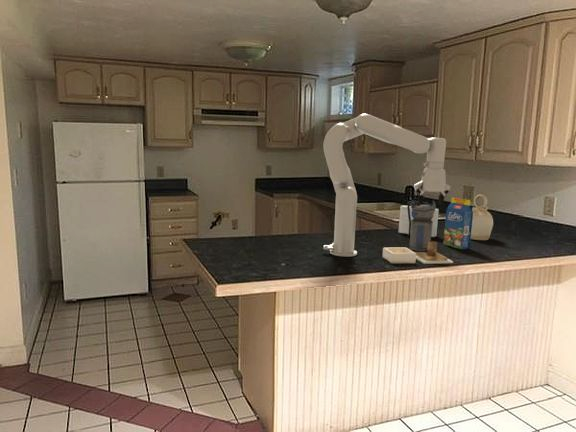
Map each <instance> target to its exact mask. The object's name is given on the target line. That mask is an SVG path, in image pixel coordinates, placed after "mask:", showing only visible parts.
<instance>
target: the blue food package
mask: <svg viewBox="0 0 576 432" xmlns="http://www.w3.org/2000/svg"><path fill="white" fill-rule="evenodd" d="M472 220H473V211H472V207H471V199H464V198H459V197H451V202H450V204H448V207H447V209H446V211H445V223H444V232H443V233H444V234H443V242H442V244H443V245H445V246H447V247H452V248H454V249H457V250H468V249H470V248H471V247H470V246H471V240H472V239H471V230H472Z"/></svg>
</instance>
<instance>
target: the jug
mask: <svg viewBox="0 0 576 432" xmlns="http://www.w3.org/2000/svg"><path fill="white" fill-rule="evenodd" d="M479 198H482V199H483V204H482V205H479V203H478V200H479ZM473 205H474V207H471V209H472V211H473V220H472V230H471V240H475V241H476V240H477V241H488V240H489V239H490V237H491V233H492V231H493V228H494V218H493V215H492V214H491V213H490V212H489V211H488V210H489V207H488V206H487V205H488V198H487V196H486V195H484V194H477V195H476V196H475V197H474V199H473Z"/></svg>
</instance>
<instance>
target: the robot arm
mask: <svg viewBox="0 0 576 432" xmlns="http://www.w3.org/2000/svg"><path fill="white" fill-rule="evenodd" d="M363 135H367V136H369V137H372V138H374V139H377V140H379V141H382V142H383V143H384V142H385V143H387V144H390V145H395V146H398V147H402V148H403V149H407V150H409V151H412V152H413V153H415V154H419V155H421V154H426V160H425V162H423V165H422V166H424V167H425V168H424V169H423V172H422V175H421V178H420V179H421V180H420V181H418V182H417V183H415V184H414V185H413V187H414V191H415V192H416V194H417V202H418V203H419V204H420V205H424V193H425V192H430V193H431V192H433V193H438V194H439V195H438V199H437V200H438V201H437V204H438V205H441V206H443V205H444V202H445V196H447V194H448V193H449V192H450V190H451V187H452V186H451V185H449V184H447V183H446V182H447V181H446V179H447V177H446V175H447V174H446V170H445V169H444V165H445V157H446V147H447V139H445V138H444V137H426V136H424V135H422V134H419V133H417V132H414V131H412V130H409V129H406V128H403V127H401V126H399V125H397V124H394V123H393V122H389V121H388V120H384V119H383V118H382V119H381V118H379V117H376V116H374V115H372V114H368V113H362V114H361V113H360V114H359V115H358V116H357V117H354V118H352V119H350V120H347V121H344V122H339V123H335V124H334V125H333V126H332V127H330V128H329V130H328V131H327V132H326V134H325V136H324V140H323V153H324V157H325V159H326V160H325V161H326V163H327V164H326V165H327V169H328V173H329V177H330V180H331V182H332V184H333V188H334V192H335V194H336V195H335V207H334V208H335V209H334V210H335V212H334V213H335V214H334V231H333V232H334V233H333V236H334V237H333V242H332V243H331V244H329V245H328V244H324V245H323V250H327V251H329V254H331V255H333V256H335V257H336V256H337V257H345V258H346V257H348V258H351V257H356V256H357V255H358V251H357V250H355V237H356V236H355V235H356V220H357V207H358V206H357V204H358V194H357V190H356V186H355V184H354V179H353V176H352V172H351V169H350V167H349V166H348V163H347V160H346V158H345V152H344V149H343V146H344V145H343V144H344V142H347V141H349V140H352V139H355V138H357V137H359V136H363ZM419 187H420V188H419Z"/></svg>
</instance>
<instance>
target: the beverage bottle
mask: <svg viewBox="0 0 576 432" xmlns="http://www.w3.org/2000/svg"><path fill="white" fill-rule="evenodd" d="M406 206H407V209H408V218H409V234H407V236H406V237H407V238H408V237H409V236H410V237H409V238H410V239H409V246H408V247H409V249H410V250H411V251H413V250H414V251H413V252H426V251H427V247H428V241H432V237H431V233H432V225H433V221H431V219H432V218H433V214H434V211H435V209H437V207H436V206H437V204H436V202H435V200H432V201H431V204H429V203H423V204H419V203H418V200H409V201H407V204H406ZM410 206H411V208H412V213H411V215H412V217H413V218H414V219H412V220H411V217H410ZM410 231H411V234H410Z"/></svg>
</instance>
